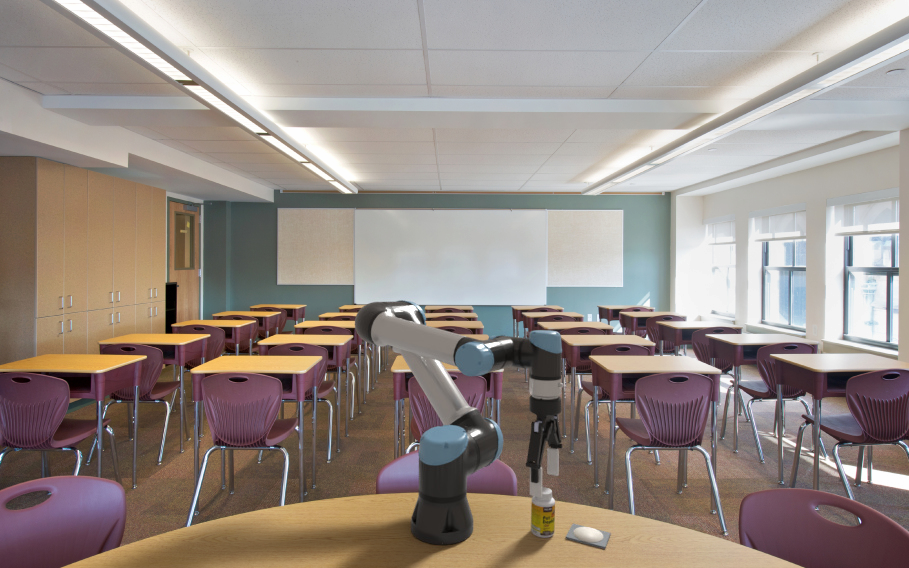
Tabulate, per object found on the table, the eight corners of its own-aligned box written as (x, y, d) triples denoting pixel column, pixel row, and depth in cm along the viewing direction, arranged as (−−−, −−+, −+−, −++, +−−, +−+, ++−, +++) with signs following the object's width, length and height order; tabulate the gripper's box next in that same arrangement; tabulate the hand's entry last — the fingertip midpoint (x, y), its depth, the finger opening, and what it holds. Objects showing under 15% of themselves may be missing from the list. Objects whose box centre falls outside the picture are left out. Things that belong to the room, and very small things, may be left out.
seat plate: (565, 538, 112) (565, 536, 112) (572, 525, 119) (572, 522, 119) (605, 549, 108) (605, 546, 108) (610, 534, 114) (610, 532, 114)
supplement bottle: (542, 541, 111) (543, 497, 111) (526, 530, 116) (526, 488, 116) (559, 534, 114) (560, 491, 114) (543, 524, 119) (543, 483, 119)
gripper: (545, 409, 102) (544, 509, 102) (573, 387, 124) (573, 469, 124) (511, 405, 105) (511, 502, 105) (545, 384, 127) (545, 464, 127)
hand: (544, 484), depth 115 cm, fingers open, 13 cm apart
